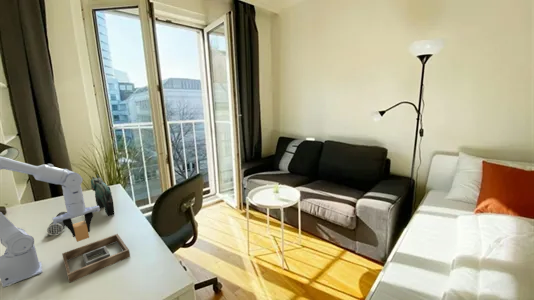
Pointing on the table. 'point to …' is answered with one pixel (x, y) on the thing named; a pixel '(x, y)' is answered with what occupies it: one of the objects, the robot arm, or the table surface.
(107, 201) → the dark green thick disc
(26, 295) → the table surface
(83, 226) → the block
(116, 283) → the table surface
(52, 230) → the flashlight
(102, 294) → the table surface
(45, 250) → the table surface
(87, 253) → the walled box
